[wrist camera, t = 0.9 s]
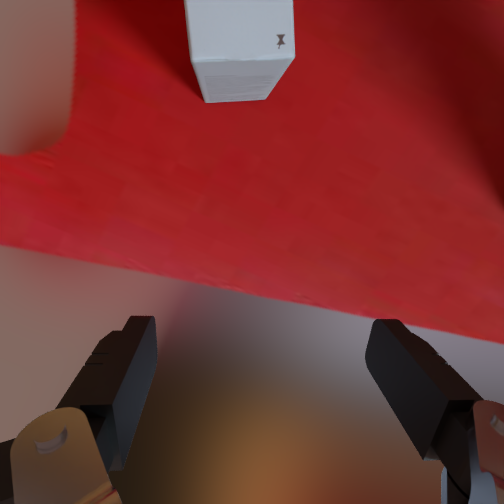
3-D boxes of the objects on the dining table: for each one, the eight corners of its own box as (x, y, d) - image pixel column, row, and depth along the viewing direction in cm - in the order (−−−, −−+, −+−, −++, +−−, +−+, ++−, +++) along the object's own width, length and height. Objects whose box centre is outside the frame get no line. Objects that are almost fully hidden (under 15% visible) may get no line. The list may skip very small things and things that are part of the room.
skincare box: (263, 49, 26) (296, -35, 15) (265, 100, 27) (297, 60, 16) (197, 51, 26) (179, -33, 14) (203, 104, 27) (190, 65, 16)
